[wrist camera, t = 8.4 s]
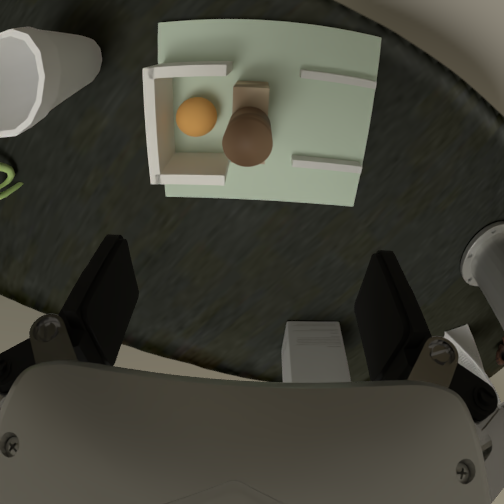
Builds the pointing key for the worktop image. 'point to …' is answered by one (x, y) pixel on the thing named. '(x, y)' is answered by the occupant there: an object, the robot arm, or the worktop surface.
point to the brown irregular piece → (500, 354)
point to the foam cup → (41, 73)
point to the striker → (249, 125)
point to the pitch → (279, 111)
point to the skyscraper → (468, 352)
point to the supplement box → (314, 353)
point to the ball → (196, 116)
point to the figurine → (8, 180)
